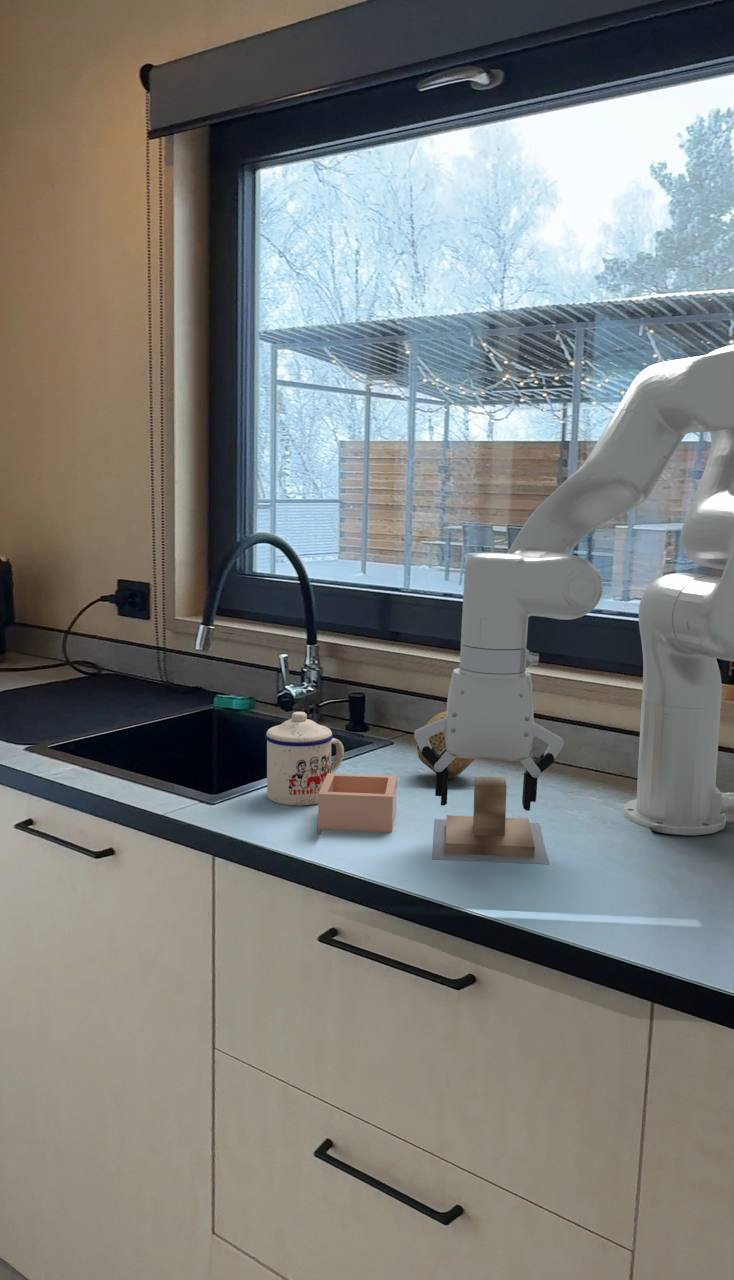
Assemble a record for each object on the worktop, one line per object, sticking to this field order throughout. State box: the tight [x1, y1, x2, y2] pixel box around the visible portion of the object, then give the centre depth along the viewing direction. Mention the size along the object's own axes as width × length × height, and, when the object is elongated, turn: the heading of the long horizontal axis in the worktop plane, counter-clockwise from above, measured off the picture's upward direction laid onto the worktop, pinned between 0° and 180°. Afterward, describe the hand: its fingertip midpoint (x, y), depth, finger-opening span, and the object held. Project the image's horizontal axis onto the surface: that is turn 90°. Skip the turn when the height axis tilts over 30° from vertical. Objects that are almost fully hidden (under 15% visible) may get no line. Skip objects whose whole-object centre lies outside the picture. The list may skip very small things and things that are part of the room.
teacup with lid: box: [264, 711, 345, 807], centre depth 139 cm, size 12×9×12 cm
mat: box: [431, 818, 550, 866], centre depth 121 cm, size 13×14×1 cm
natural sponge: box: [416, 711, 476, 780], centre depth 147 cm, size 9×9×10 cm
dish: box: [317, 772, 398, 835], centre depth 128 cm, size 9×9×5 cm
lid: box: [446, 775, 535, 857], centre depth 120 cm, size 10×10×7 cm
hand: (484, 804), depth 120 cm, fingers open, 9 cm apart
